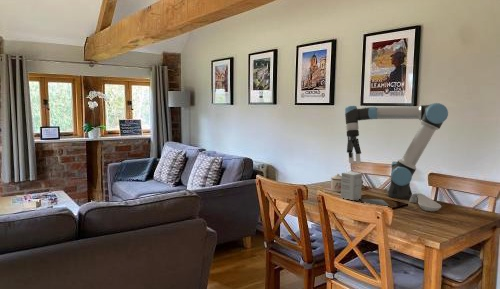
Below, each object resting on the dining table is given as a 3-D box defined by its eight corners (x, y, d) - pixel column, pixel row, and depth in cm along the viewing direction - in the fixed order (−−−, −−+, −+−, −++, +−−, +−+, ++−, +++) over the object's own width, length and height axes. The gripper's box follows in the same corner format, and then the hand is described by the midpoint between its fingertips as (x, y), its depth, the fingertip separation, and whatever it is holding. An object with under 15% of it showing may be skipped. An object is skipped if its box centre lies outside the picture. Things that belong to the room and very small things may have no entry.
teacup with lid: (334, 192, 259) (335, 175, 258) (328, 189, 268) (329, 173, 267) (350, 191, 262) (351, 174, 261) (343, 188, 271) (344, 172, 270)
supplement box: (349, 196, 248) (350, 171, 246) (361, 199, 241) (362, 173, 239) (340, 198, 242) (341, 172, 240) (352, 201, 235) (353, 174, 233)
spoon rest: (445, 213, 213) (446, 200, 212) (425, 213, 211) (426, 201, 210) (420, 202, 236) (421, 191, 235) (403, 202, 234) (403, 191, 234)
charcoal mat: (382, 201, 236) (382, 199, 236) (388, 207, 223) (389, 205, 223) (361, 200, 236) (361, 199, 236) (366, 206, 224) (366, 204, 223)
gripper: (353, 133, 255) (355, 164, 252) (339, 128, 234) (342, 163, 232) (364, 131, 251) (366, 163, 248) (351, 127, 230) (354, 162, 227)
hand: (355, 163), depth 240 cm, fingers open, 13 cm apart
